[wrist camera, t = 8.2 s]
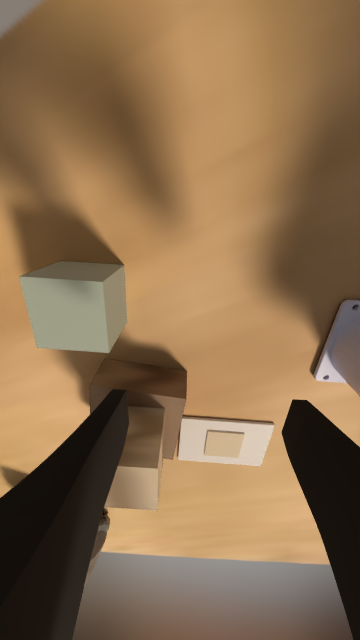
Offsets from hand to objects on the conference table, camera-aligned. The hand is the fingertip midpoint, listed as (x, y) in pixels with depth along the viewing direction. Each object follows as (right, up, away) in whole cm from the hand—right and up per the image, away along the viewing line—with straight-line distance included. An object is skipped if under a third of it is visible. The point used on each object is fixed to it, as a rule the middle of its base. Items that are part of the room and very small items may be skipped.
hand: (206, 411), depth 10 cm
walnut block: (-5, -4, +14) cm, 15 cm away
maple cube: (-5, -6, +10) cm, 13 cm away
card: (+4, -10, +16) cm, 19 cm away
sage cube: (-8, +6, +9) cm, 14 cm away
